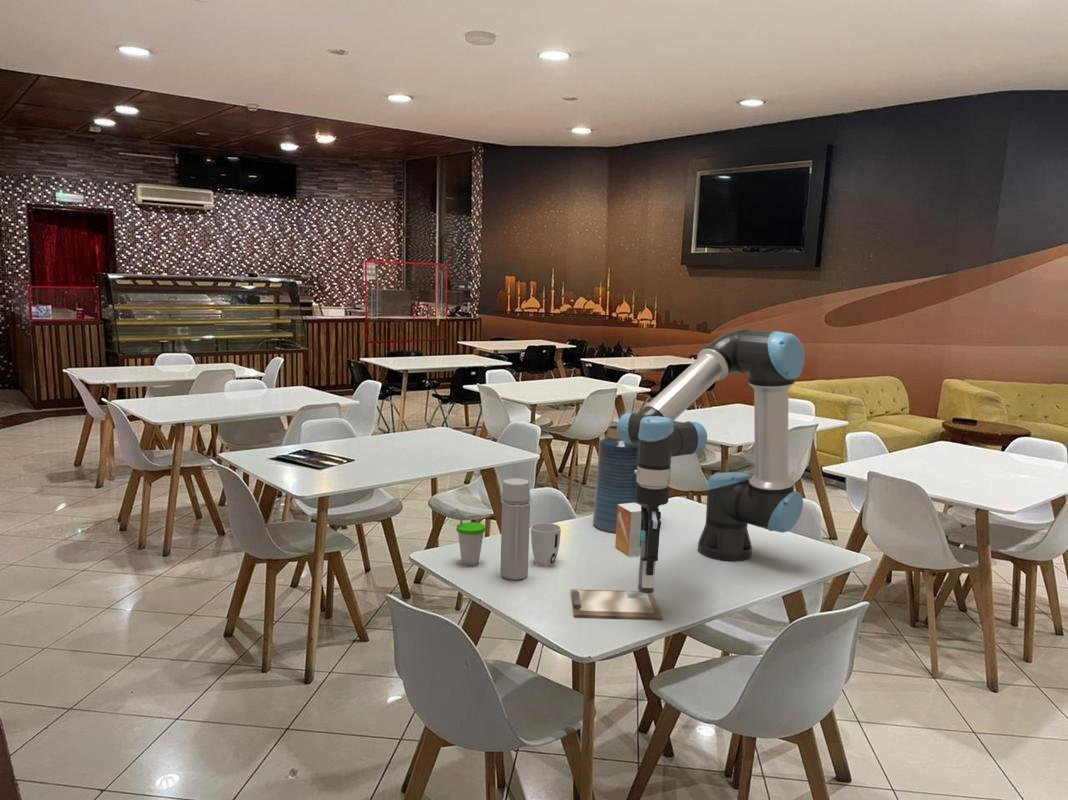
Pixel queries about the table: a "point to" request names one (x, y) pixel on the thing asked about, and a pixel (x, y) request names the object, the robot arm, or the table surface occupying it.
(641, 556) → the marker
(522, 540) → the water bottle
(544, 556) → the cup
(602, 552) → the table surface
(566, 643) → the table surface
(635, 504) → the small box
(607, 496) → the vase
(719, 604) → the table surface
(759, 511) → the robot arm
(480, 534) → the cup
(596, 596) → the tan flat rectangular tray
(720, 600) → the table surface
